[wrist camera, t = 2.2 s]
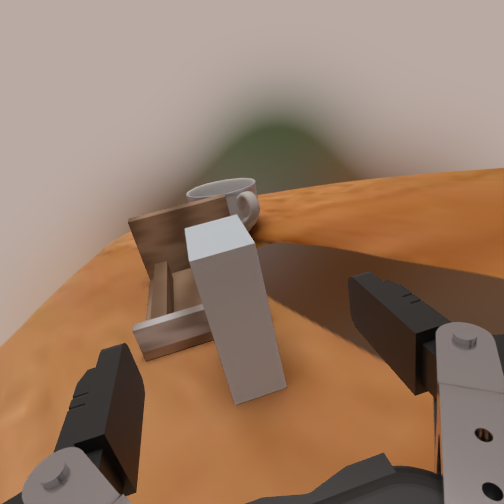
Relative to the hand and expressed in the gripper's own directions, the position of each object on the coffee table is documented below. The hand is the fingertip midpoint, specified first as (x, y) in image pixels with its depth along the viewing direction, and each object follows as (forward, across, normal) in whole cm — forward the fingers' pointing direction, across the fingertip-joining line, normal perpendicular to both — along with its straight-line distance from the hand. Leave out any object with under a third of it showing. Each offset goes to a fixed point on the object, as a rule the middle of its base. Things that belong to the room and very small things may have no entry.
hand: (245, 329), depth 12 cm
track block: (+25, +3, +12) cm, 28 cm away
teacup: (+41, -4, +12) cm, 43 cm away
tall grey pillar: (+12, 0, +12) cm, 17 cm away
